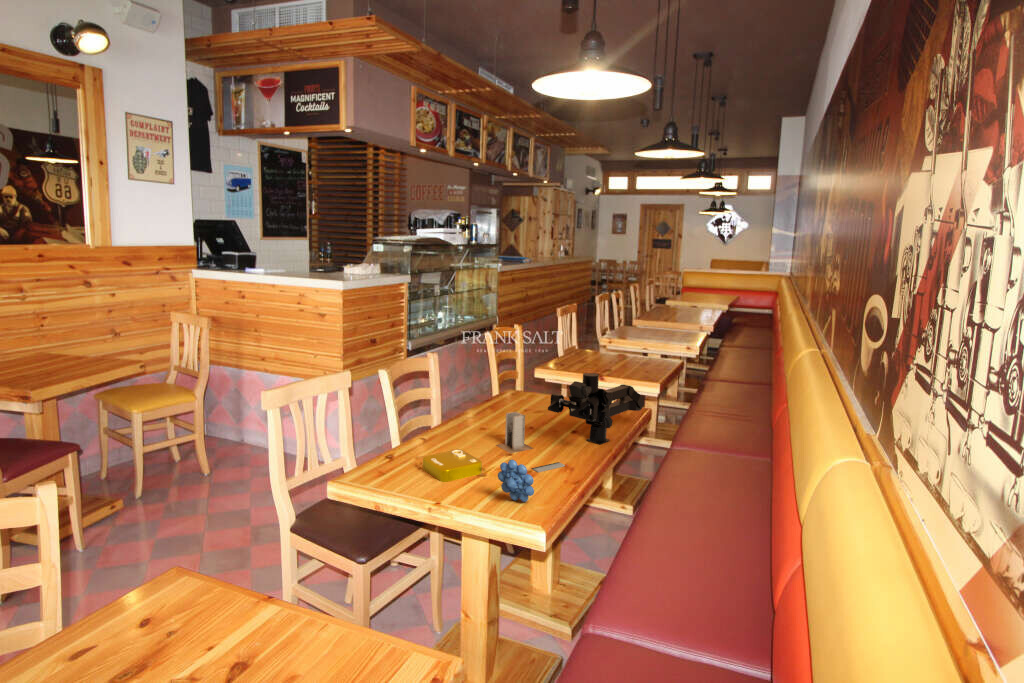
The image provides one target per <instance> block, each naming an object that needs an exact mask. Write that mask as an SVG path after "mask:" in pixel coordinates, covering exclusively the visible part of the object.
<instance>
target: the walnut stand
mask: <svg viewBox="0 0 1024 683" xmlns="http://www.w3.org/2000/svg"><path fill="white" fill-rule="evenodd" d="M512 441H513V435H512V436H511V445H510V446H505V442H503V443H498V444H495V446H496V447H498V448H500V449H502V450H504V451H505V452H507V453H509V454H515V453H519V452H525V451H528V450H529V451H530V450H534V449H535V448H534V447H532V446H530V445H528V444H526V443H524V448H522V449H517V450H513V449H512Z"/></svg>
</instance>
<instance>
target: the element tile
mask: <svg viewBox="0 0 1024 683" xmlns="http://www.w3.org/2000/svg"><path fill="white" fill-rule="evenodd" d="M482 467H483V461H482V460H481V459H479V458H477V457H475V456H474V455H472V454H470V453H468V452H467V451H465V450H462V449H459V448H458V449H451V450H449V451H448V450H447V451H443V452H442V451H441V452H438V453H433V454H429V455H424V456H423V457H422V470H423V471H424V472H426V473H427V474H429V475H430V476H431V477H433V478H435V479H437V480H438V481H439V482H441V483H449V482H453V481H457V480H462V479H466V478H471V477H474V476H478V475H481V474H483V472H482V471H483V468H482Z"/></svg>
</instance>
